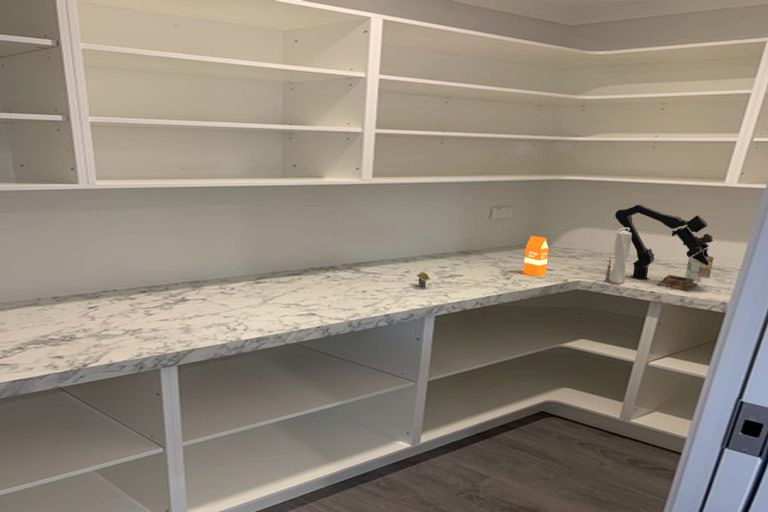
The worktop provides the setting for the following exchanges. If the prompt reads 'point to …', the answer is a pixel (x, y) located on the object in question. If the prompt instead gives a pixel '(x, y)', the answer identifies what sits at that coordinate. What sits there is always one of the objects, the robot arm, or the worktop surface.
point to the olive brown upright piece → (423, 278)
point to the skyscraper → (619, 257)
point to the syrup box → (693, 269)
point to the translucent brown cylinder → (705, 268)
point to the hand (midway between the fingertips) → (709, 264)
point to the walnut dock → (677, 282)
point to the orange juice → (536, 256)
